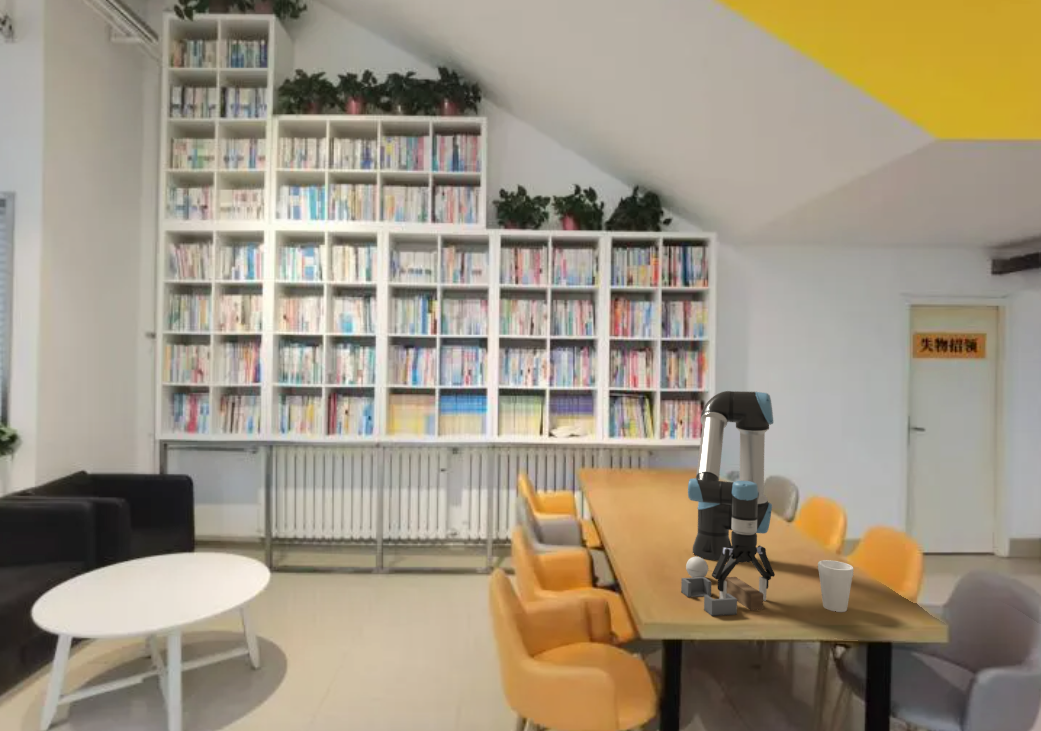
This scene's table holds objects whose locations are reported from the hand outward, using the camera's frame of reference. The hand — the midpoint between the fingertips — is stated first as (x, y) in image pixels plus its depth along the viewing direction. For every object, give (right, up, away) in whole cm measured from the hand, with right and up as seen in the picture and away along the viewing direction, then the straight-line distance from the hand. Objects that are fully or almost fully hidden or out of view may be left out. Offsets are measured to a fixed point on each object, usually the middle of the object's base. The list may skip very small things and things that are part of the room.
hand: (742, 600), depth 185 cm
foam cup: (+26, -1, -4) cm, 27 cm away
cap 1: (-13, 0, +5) cm, 14 cm away
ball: (-8, 0, +18) cm, 20 cm away
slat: (0, 0, 0) cm, 0 cm away
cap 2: (-10, 0, -9) cm, 14 cm away
